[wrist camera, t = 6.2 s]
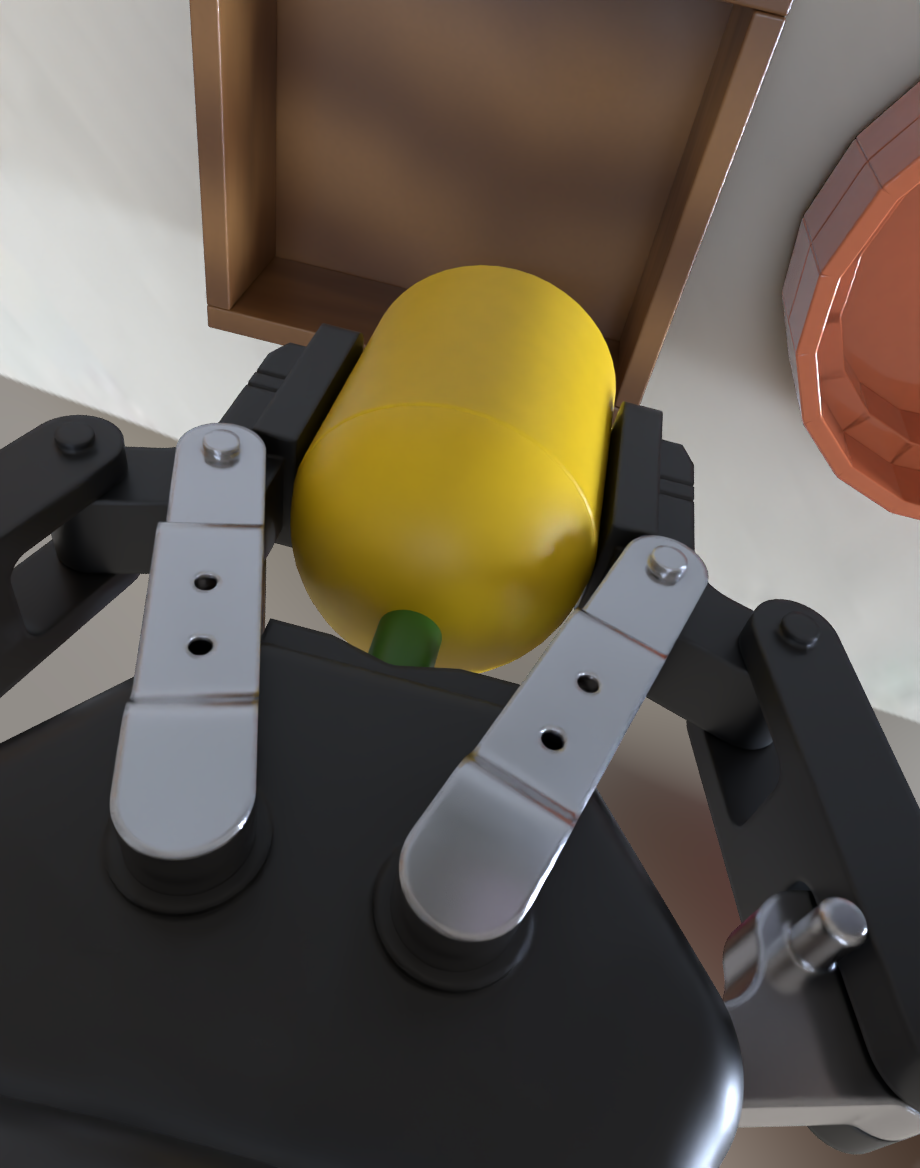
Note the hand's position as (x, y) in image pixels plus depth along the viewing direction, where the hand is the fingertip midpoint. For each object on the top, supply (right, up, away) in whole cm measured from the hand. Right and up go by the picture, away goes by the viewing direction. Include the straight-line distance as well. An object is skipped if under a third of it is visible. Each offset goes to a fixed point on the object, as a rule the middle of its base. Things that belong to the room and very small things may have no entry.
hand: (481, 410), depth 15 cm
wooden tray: (0, +12, +12) cm, 16 cm away
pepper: (0, +1, +1) cm, 1 cm away
